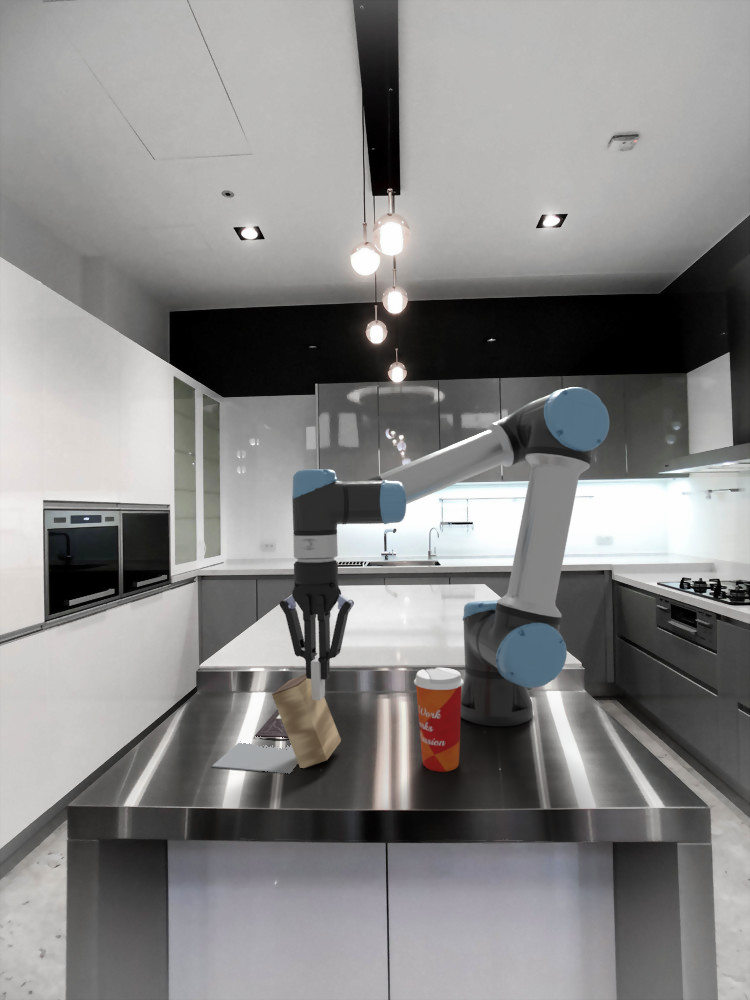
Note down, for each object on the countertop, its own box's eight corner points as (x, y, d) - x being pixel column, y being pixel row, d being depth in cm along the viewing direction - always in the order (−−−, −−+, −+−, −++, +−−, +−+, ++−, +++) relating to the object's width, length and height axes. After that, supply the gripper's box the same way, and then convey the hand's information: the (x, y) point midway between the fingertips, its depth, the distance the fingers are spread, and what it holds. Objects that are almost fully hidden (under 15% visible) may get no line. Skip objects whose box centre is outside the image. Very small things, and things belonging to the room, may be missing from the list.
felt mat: (315, 743, 105) (314, 742, 105) (290, 773, 93) (290, 772, 93) (244, 738, 108) (244, 737, 108) (212, 766, 97) (212, 765, 97)
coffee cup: (408, 758, 98) (405, 669, 98) (450, 749, 101) (448, 664, 101) (429, 779, 90) (427, 683, 90) (475, 769, 93) (473, 676, 93)
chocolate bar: (254, 735, 108) (282, 703, 126) (254, 740, 108) (283, 707, 126) (301, 737, 107) (323, 703, 125) (301, 742, 107) (323, 708, 125)
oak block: (341, 740, 102) (313, 670, 103) (327, 760, 94) (297, 684, 95) (316, 749, 103) (289, 680, 104) (300, 769, 95) (271, 694, 96)
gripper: (271, 561, 97) (274, 702, 96) (346, 561, 94) (349, 707, 93) (288, 557, 104) (290, 688, 104) (358, 557, 101) (360, 692, 101)
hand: (318, 697), depth 98 cm, fingers closed
